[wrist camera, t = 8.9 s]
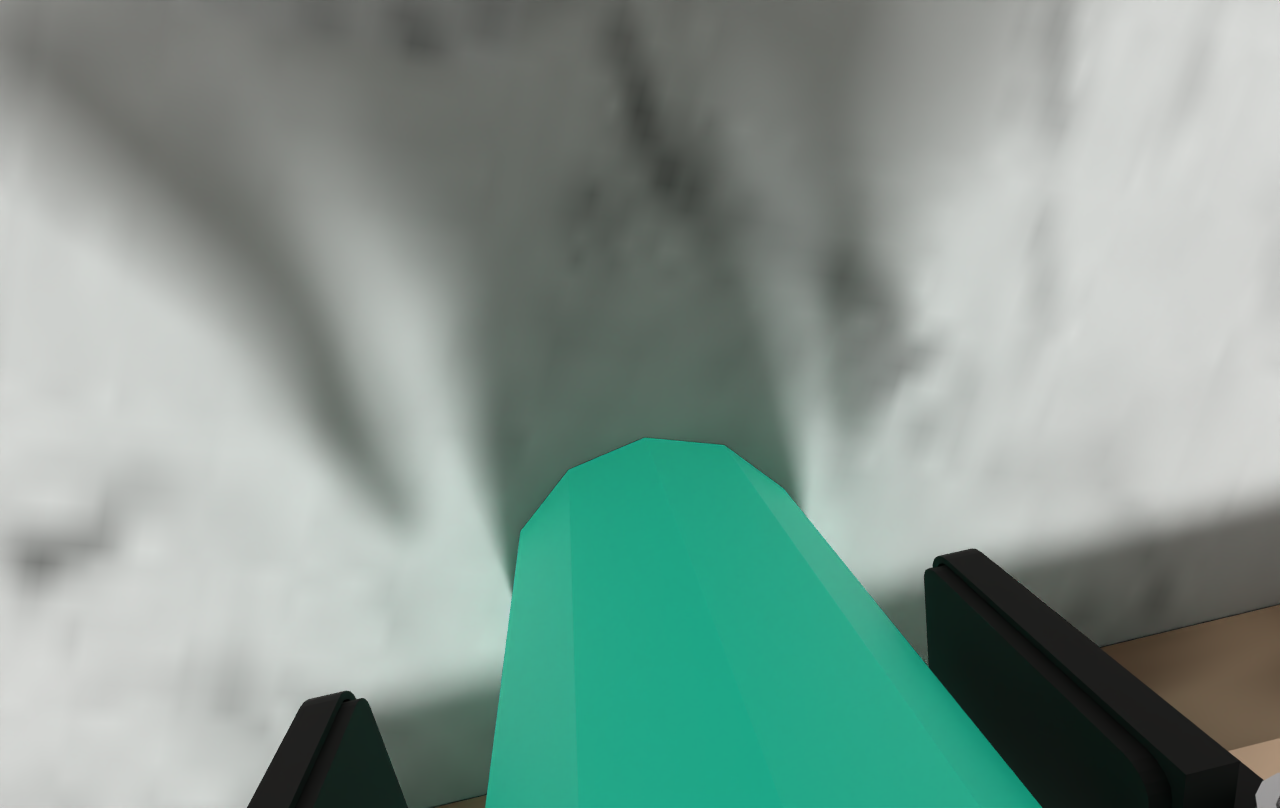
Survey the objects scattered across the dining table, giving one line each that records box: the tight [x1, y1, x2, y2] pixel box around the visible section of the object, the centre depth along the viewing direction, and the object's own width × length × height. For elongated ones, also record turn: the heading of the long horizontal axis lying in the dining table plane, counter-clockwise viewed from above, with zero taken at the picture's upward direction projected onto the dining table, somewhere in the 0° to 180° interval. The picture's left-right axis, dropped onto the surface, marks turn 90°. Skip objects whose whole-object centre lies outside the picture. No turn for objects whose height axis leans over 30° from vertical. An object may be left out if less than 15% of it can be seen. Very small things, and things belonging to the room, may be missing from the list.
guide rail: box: [435, 605, 1280, 808], centre depth 14 cm, size 30×2×3 cm, turn 100°
